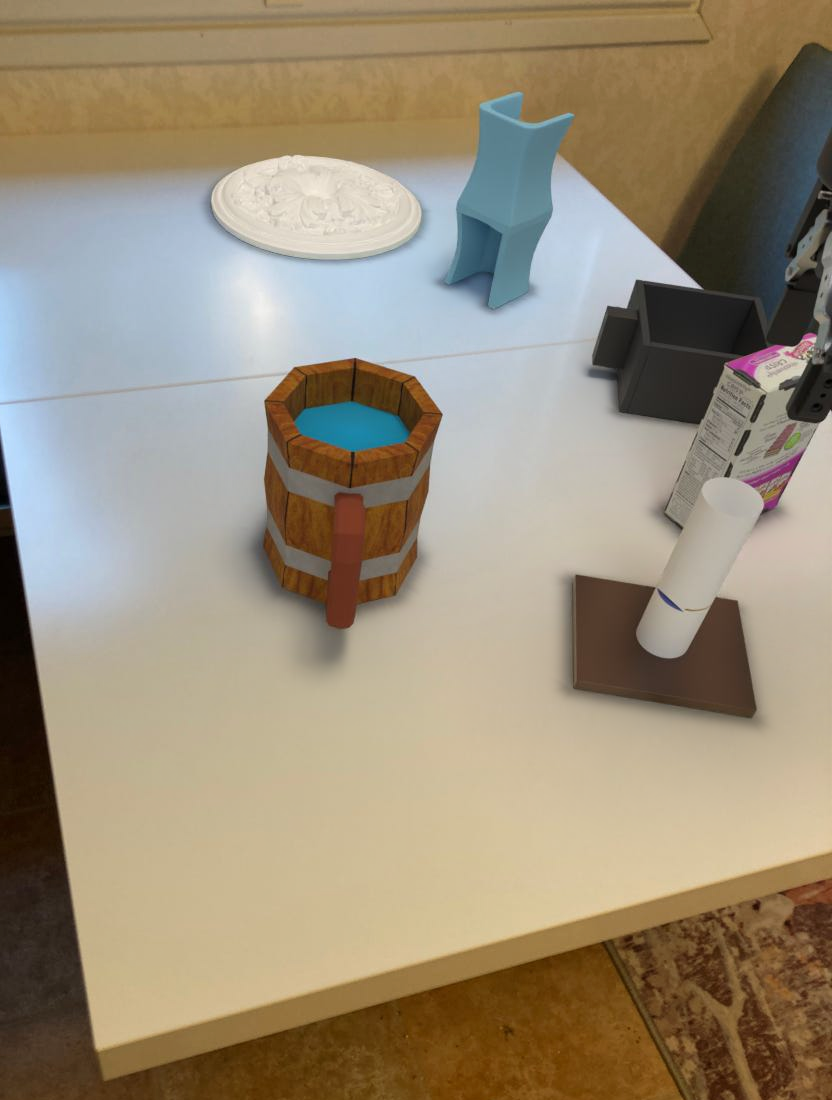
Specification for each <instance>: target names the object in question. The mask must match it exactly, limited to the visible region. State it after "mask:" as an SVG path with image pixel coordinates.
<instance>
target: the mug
mask: <svg viewBox="0 0 832 1100" xmlns="http://www.w3.org/2000/svg"><path fill="white" fill-rule="evenodd" d="M263 402H264V409H265V418H266V425H267V452H266V460H265V468H264V474H263V475H264V476H263V483H264V493H265V501H266V527H265V532H264V539H263V543H262V548H263V550H264V552H265V554H266V556H267V559H268V561H269V563H270V565H271V567H272V569H273V571H274V573H275V576H276V578H277V580H278V582H279V584H280V586H281V588H282V589H285V590H287V591H290V592H293V593H295V594H299V595H301V596H304V597H305V598H309V599H312V600H315V601H316V602H319V603H322V604H325V605H326V606H325V607H326V609H325V623H326V624H327V626H328V627H330V628H334V629H336V630H342V629H350V628H351V627H352V625H354V624H355V623H354V622H355V618H356V613H357V612H356V611H357V605H359V604H364V603H368V602H373V601H376V600H380V599H381V600H382V599H384V598H390V597H394V596H397V593H398V592H399V590H400V588H401V586H402V584H403V583H404V581H405V579H406V578H407V575H408V574H409V572H410V571H411V569H412V568H413V565H414V564H415V562H416V561H417V559H418V535H419V529H420V524H421V520H422V519H421V518H422V514H423V511H424V507H425V504H426V501H427V497H428V494H429V492H430V476H431V463H432V457H433V456H432V455H433V451H434V446H435V440H436V437H437V434H438V431H439V428H440V425H441V421H442V419H443V416H444V415H443V412H442V411H441V410H440V408H439V407H438V406H437V404H436V403H435V401H434V400H433V398H432V397H431V396H430V395H429V393H428V392H427V390H426V389H425V387H424V386H423V385H422V384H421V382H420V381H419V380H418V378H417V377H416V376H415V375H411V374H409V373H406V372H402V371H398V370H395V369H393V368H389V367H386V366H383V365H379V364H376V363H374V362H370V361H366V360H363V359H360V358H357V357H351V358H344V359H338V360H332V361H325V362H318V363H312V364H306V365H305V364H304V365H299V366H293V368H292V369H291V370H290V371H289V372H288V373H287V374H286V376H284V378H283V379H282V380H281V381H280V382H279V383H278V385H277V386H276V387H275V388H274V389H273V390H272V392H271V393H270V394H269V395H268V396H267V397H266V398H265V399H264V401H263Z"/></svg>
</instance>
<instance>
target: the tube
mask: <svg viewBox="0 0 832 1100" xmlns="http://www.w3.org/2000/svg"><path fill="white" fill-rule="evenodd" d="M763 507H764V502H763V499H762V497H761V495H760V494H759V493H758V492H757V491H756V490H755V489H754V488H753V487H751V486H750V485H748V484H746V483H744V482H742V481H739V480H736V479H732V478H726V477H719V478H713V479H710V480H708V481H706V482H705V483H704V485H703V487H702V489H701V491H700V493H699V495H698V498H697V500H696V502H695V504H694V506H693V508H692V511H691V513H690V515H689V517H688V519H687V521H686V524H685V526H684V528H683V529H682V530H681V532H680V535H679V536H678V539H677V540H676V543H675V545H674V548H673V549H672V552H671V554H670V556H669V558H668V560H667V563H666V564H665V566H664V568H663V571H662V573H661V576H660V578H659V579H658V582H657V584H656V586H655V587H656V588H655V591H654V593H653V595H652V597H651V599H650V601H649V604H648V606H647V608H646V610H645V612H644V614H643V616H642V619H641V621H640V623H639V625H638V627H637V630H636V637H637V640H638V641H639V643H640V645H641V646H642V647H643V648H644V649H645V650H647V651H648V652H650V653H651V654H653V655H656V656H658V657H662V658H677V657H680V656H682V655H683V654H684V653H685V652H686V651H687V649H688V647H689V646H690V644H691V642H692V640H693V638H694V636H695V634H696V633H697V631H698V629H699V627H700V625H701V623H702V621H703V620H704V618H705V616H706V614H707V612H708V610H709V608H710V606H711V605H712V603H713V601H714V599H715V597H717V595H718V593H719V592H720V589H721V588H722V586H723V583H724V582H725V580H726V579H727V577H728V575H729V573H730V571H731V569H732V567H733V566H734V564H735V562H736V560H737V558H738V556H739V554H740V553H741V551H742V549H743V547H744V545H745V543H746V542H747V540H748V538H749V536H750V534H751V533H752V530H753V529H754V526H755V525H756V523H757V521H758V519H759V517H760V516H761V514H762V513H763V512H762V510H763ZM761 512H762V513H761Z"/></svg>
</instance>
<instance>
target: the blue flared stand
mask: <svg viewBox="0 0 832 1100" xmlns="http://www.w3.org/2000/svg"><path fill="white" fill-rule="evenodd" d="M523 101H524V93H523V92H521V91H515V92H512V93H509V94H506V95H503V96H499V97H496V98H494V99H493V98H492V99H490V100H487V101H484V102H481V103H480V104H479V106H478V118H479V121H478V122H479V123H478V125H479V126H478V127H479V128H478V129H479V130H478V132H479V133H478V146H477V152H476V158H475V161H474V165H473V168H472V171H471V173H470V176H469V178H468V180H467V182H466V184H465V186H464V188H463V190H462V191H461V194H460V195H459V197H458V199H457V202H456V208H455V211H456V212H455V213H456V225H457V227H456V228H457V229H456V230H457V233H456V234H457V237H456V239H457V240H456V247H455V253H454V256H453V260H452V263H451V266H450V269H449V271H448V273H447V275H446V277H445V279H444V284H446V285H448V286H450V285H453V284H455V283H457V282H459V281H461V280H463V279H465V278H467V277H470V276H472V275H474V274H476V273H479V272H482V273H483V272H485V273H491V274H493V276H492V277H493V278H492V282H491V288H490V293H489V297H488V303H487V307H488V308H489V309H491V310H496V309H497V308H500V307H501V306H503V305H505V304H507V303H509V302H511V301H513V300H515V299H517V298H520V297H521V296H524V295H526V294H527V293H528V292H529V290H530V275H531V268H532V264H533V263H532V262H533V259H534V254H535V252H536V249H537V246H538V244H539V242H540V240H541V237H542V236H543V233H544V232H545V230H546V228H547V226H548V225H549V222H550V220H551V218H552V216H553V211H554V206H553V198H552V197H553V196H552V173H553V167H554V163H555V160H556V157H557V154H558V152H559V150H560V147H561V144H562V141H563V139H564V138H565V136H566V134H567V132H568V130H569V128H570V126H571V124H572V123H573V120H574V119H575V115H576V114H575V113H571V112H566V113H564V114H560V115H558V116H555V117H551V118H549V119H546V120H543V121H540V122H536V123H533V122H525V121H522V120H521V121H520V117H521V112H522V107H523Z"/></svg>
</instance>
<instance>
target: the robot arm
mask: <svg viewBox="0 0 832 1100" xmlns="http://www.w3.org/2000/svg"><path fill="white" fill-rule="evenodd" d="M815 166H816V173H817V177H818V178H817V180H816V181H815V184H814V186H813V188H812V191H811V193H810V194H809V197H808V199H807V201H806V203H805V205H804V208H803V210H802V212H801V214H800V217H799V218H798V220H797V223H796V225H795V227H794V229H793V231H792V233H791V235H790V238H789V240H788V242H787V244H786V246H785V248H784V258H785V259H788V260H791V261H790V262H789V264H788V266H787V267H786V269H785V272H784V275H785V276H784V281H785V282H788V283H786V284H785V286H784V288H783V290H782V293H781V294H780V296H779V299H778V301H777V304H776V306H775V308H774V310H773V313H772V314H771V317H770V318H769V321H768V322H767V323H768V325H767V328H766V330H765V337H766V341H767V342H768V343H770V344H774V346H775V345H781V346H788V347H794V346H797V345H798V344H799V343H800V342H801V340H802V338H803V336H804V335H806V332H807V330H808V328H809V326H810V325H811V322H812V320H813V318H814V320H816V321H817V322H818V324H819V327H818V330H817V334H816V335H817V339H816V343H815V347H814V350H813V353H812V357H811V358H810V359H809V361H808V363H807V365H806V367H805V369H804V371H803V373H802V375H801V377H800V379H799V381H798V383H797V385H796V387H795V389H794V391H793V393H792V395H791V397H790V399H789V401H788V403H787V405H786V412H787V416H788V418H789V419H791V420H795V421H801V422H808V423H815V424H816V423H820V424H821V423H822V422H823V421H826V419H827V417H828V415H829V413H830V412H831V410H832V127H831V129H830V130H829V132H828V135H827V137H826V140H825V142H824V144H823V147H822V149H821V151H820V153H819V155H818V158H817V161H816V165H815Z"/></svg>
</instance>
